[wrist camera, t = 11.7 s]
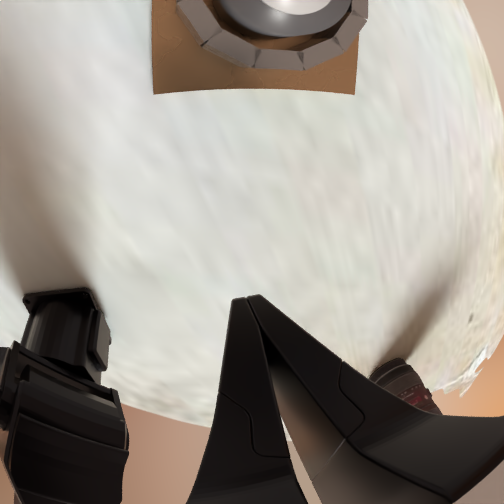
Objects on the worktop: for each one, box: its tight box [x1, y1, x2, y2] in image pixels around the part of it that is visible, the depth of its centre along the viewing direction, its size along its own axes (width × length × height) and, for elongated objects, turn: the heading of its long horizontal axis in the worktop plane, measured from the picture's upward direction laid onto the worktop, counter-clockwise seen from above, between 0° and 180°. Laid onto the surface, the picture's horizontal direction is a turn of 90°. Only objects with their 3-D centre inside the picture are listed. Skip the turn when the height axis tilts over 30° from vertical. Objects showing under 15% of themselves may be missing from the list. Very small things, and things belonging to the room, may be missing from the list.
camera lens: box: [369, 358, 443, 415], centre depth 37 cm, size 8×8×15 cm
